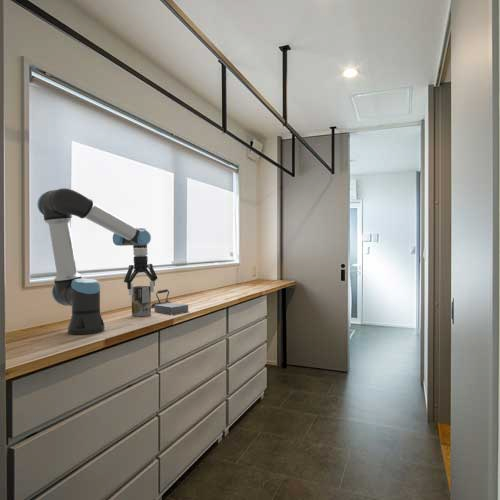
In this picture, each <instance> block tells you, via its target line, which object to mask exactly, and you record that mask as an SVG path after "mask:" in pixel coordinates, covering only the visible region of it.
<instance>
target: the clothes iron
mask: <svg viewBox="0 0 500 500" xmlns="http://www.w3.org/2000/svg"><path fill="white" fill-rule="evenodd" d="M164 293H167V294H166V299H165V300H164V301H161V300H160V298H159V296H158V294H164ZM169 294H170V290H169V289H167V288H166V289H162V290H161V289H160V290H158V291H156V294H155V296H156V298H157V300H158V302H153V303H152V304H151V309H152V308H154V309H155V305H158V304H165V303H172V302H171V301H169V300H168V297H169Z"/></svg>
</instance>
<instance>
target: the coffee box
mask: <svg viewBox="0 0 500 500" xmlns="http://www.w3.org/2000/svg"><path fill="white" fill-rule="evenodd" d="M150 287H151V286H150V285H137V286H133V295H131V316H133V317H134V316H135V317H136V316H137V317H138V316H139V317H146V316H151V315H152V310H151V309H152V308H151V305H152V304H151V303H152V302H151V298H152V297H151V293H152V292H150Z"/></svg>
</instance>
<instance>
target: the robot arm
mask: <svg viewBox="0 0 500 500" xmlns="http://www.w3.org/2000/svg"><path fill="white" fill-rule="evenodd" d="M36 206H37V209H38V211H39V212H40V213H41V214H42V215H43V220H44V223H46V224H47V225H48V226H49V234H50V240H51V245H52V246H51V247H52V252H53V259H54V265H55V271H56V277H55V278H54V279H53V282H54V285H53V286H52V289H51V294H52V297H53V299H54V301H55V302H56V303H58V304H60V305H62V306H65V307H68V306H69V307H71V317H70V320H69V323H68V327H67V333H68V334H69V335H74V336H75V335H76V336H77V335H81V336H82V335H91V334H96V333H101V332H103V331H104V330H105V323H104V320H103V317H102V314H101V285H100V281H99V280H97V279H94V278H85V277H84V278H82V275H81V274H80V273H79V272H78V270H77V263H76V255H75V251H74V250H75V249H74V243H73V238H72V237H73V236H72V231H71V225H70V223H71V221H72V220H73V216H76V217H78V218H80V219H87V220H89V221H90V222H92V223H95V224H96V225H98V226H99V227H102V228H104V229H105V230H108V231H109V232H111V233H113V235H112V243H113V244H114V245H115V246H119V247H122V246H126V247H127V246H132V248H133V249H132V250H133V265H132V264H129V265H128V270H127V272H126V274H125V276H124V279H123V282H124V283H126V286H127V290H128V296H132V295H133V287H134V286H133V283H132V282H133V281H134V279H135V277H136V276H137V275H138V274H139V273H145V274H146V277H148V278H149V279H150V281H149V286H151V287H150V292H151V293H154V292H155V291H154V290H155V281H156V280H158V278H159V277H158V276H157V273H156V271H155V270H154V267H153V263H148V262H149V261H148V260H149V259H148V244H149V243H151V239H152V235H151V233H150V232H149V231H148V230H147V229H146V228H144V227H143V228H141V227H139V228H137V227H135V226H134V225H132V224H130V223H129V222H127V221H125V220H123V219H121V218H120V217H118V216H116V215H114V214H113V213H111V212H109V211H107V210H106V209H104V208H102V207H100V206H99V205H97V204H95V203H94V201H93V199H90V198H89V197H88V196H86V195H84V194H82V193H80V192H78V191H75V190H73V189H71V188H67V187H65V188H63V187H62V188H58V189H54V190H49V191H46V192H44V193H42V194H40V196H39V198H38V200H37V205H36Z"/></svg>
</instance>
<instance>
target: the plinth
mask: <svg viewBox="0 0 500 500" xmlns="http://www.w3.org/2000/svg"><path fill="white" fill-rule="evenodd" d="M186 311H188V312H189V304H185V303H177V302H171V303H165V304H158V305H155V308H154V313H161V314H164V315H165V314H167V315H171V314H172V315H177V314H176V313H178V314H182V313H181V312H184V313H187V312H186Z"/></svg>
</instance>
